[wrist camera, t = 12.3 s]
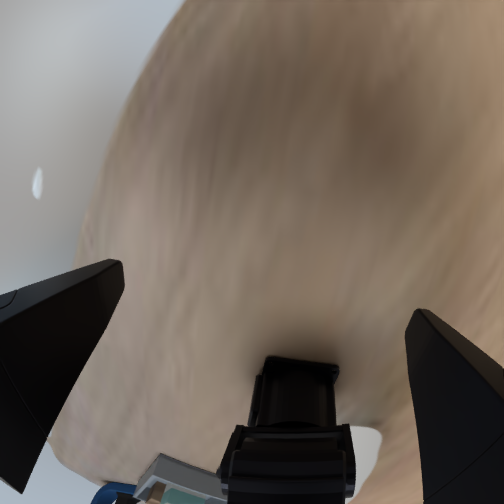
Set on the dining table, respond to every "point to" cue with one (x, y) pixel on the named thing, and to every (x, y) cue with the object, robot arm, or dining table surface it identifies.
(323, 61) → the dining table surface
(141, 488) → the tote
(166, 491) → the carton
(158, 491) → the walnut block
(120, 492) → the handheld scanner
